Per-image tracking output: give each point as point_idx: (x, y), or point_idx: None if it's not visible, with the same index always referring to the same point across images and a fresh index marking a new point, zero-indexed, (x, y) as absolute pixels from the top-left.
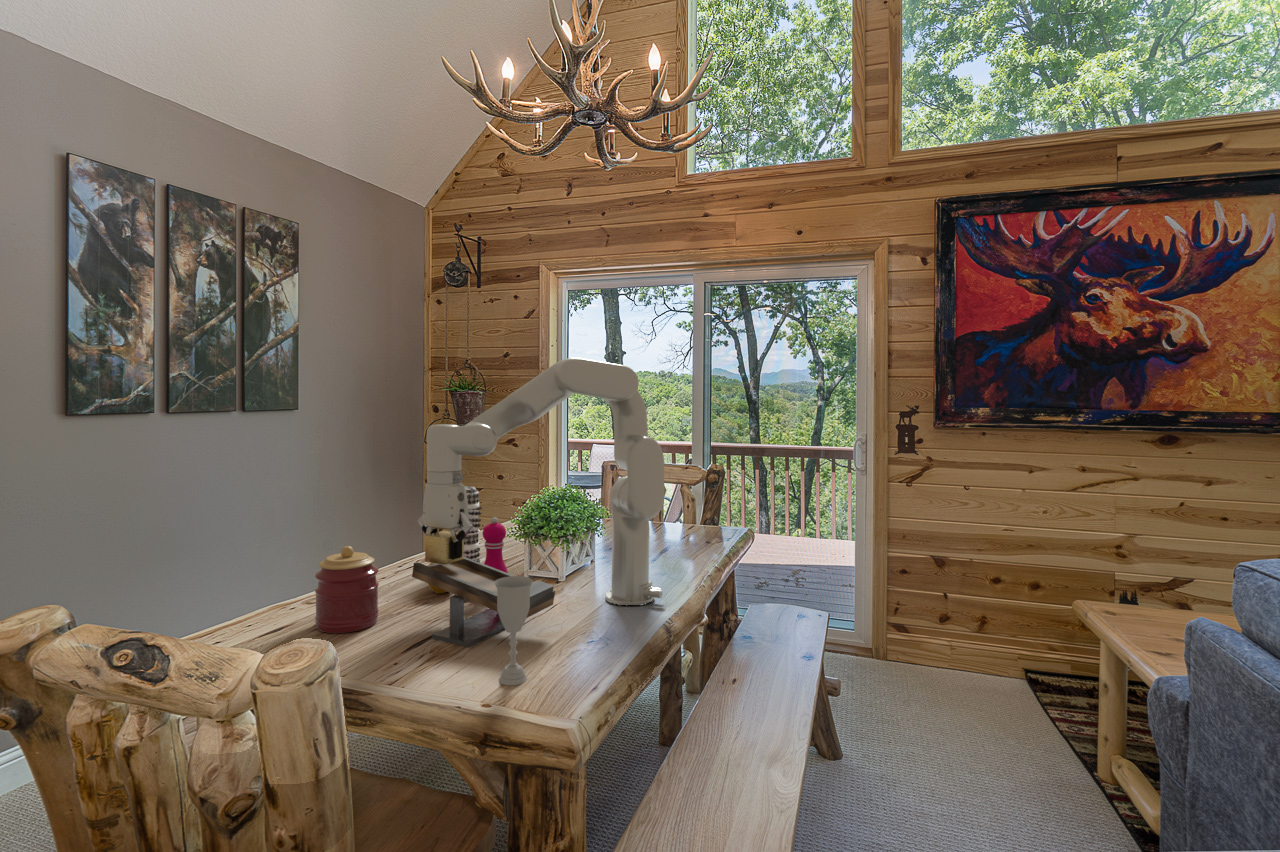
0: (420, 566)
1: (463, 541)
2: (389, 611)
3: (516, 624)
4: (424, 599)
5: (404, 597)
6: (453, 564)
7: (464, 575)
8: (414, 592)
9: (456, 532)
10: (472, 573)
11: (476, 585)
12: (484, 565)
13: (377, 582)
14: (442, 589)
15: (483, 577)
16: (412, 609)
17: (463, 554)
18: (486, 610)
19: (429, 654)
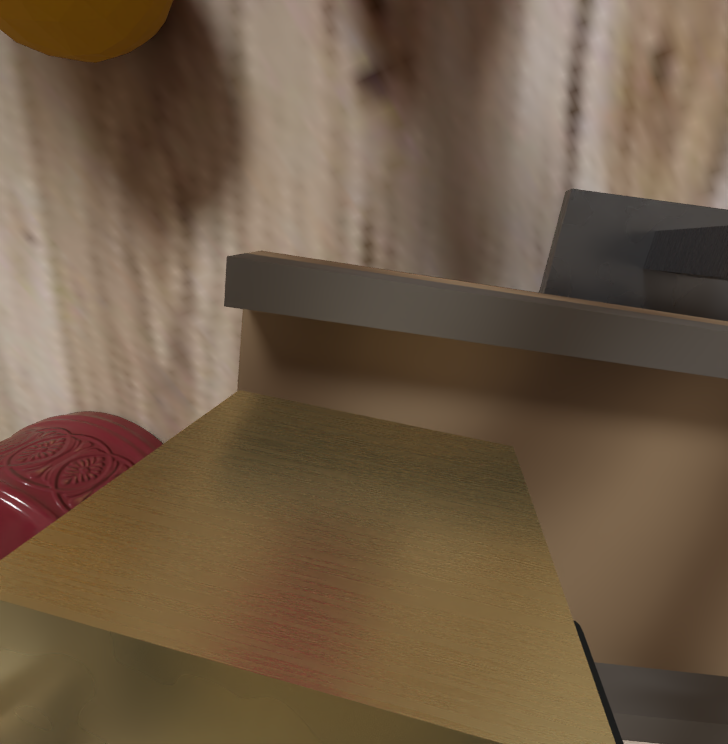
0: None
1: (560, 598)
2: (133, 349)
3: None
4: (143, 150)
5: (47, 160)
6: (366, 371)
7: (563, 505)
8: (25, 66)
9: (385, 741)
10: (601, 433)
11: (716, 591)
12: (723, 359)
13: (47, 526)
14: (155, 33)
15: (713, 441)
16: (194, 298)
17: (519, 476)
18: (563, 251)
19: None
